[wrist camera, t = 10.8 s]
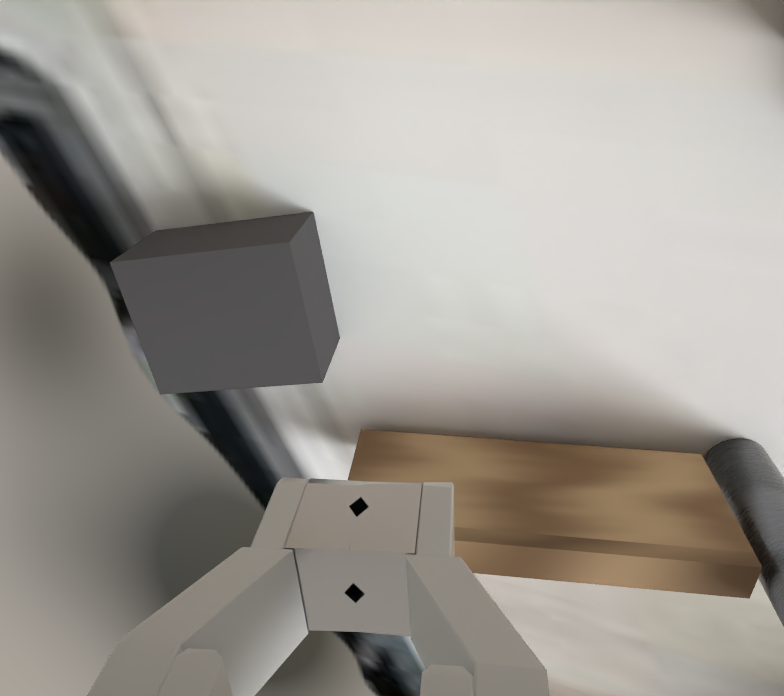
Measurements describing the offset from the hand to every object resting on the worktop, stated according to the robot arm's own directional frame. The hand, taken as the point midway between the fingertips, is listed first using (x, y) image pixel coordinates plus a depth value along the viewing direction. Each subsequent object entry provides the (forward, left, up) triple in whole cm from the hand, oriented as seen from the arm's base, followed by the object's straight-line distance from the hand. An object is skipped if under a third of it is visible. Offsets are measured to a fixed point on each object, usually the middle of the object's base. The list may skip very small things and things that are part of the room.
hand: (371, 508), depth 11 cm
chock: (+1, -7, -13) cm, 14 cm away
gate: (+8, +4, -12) cm, 15 cm away
